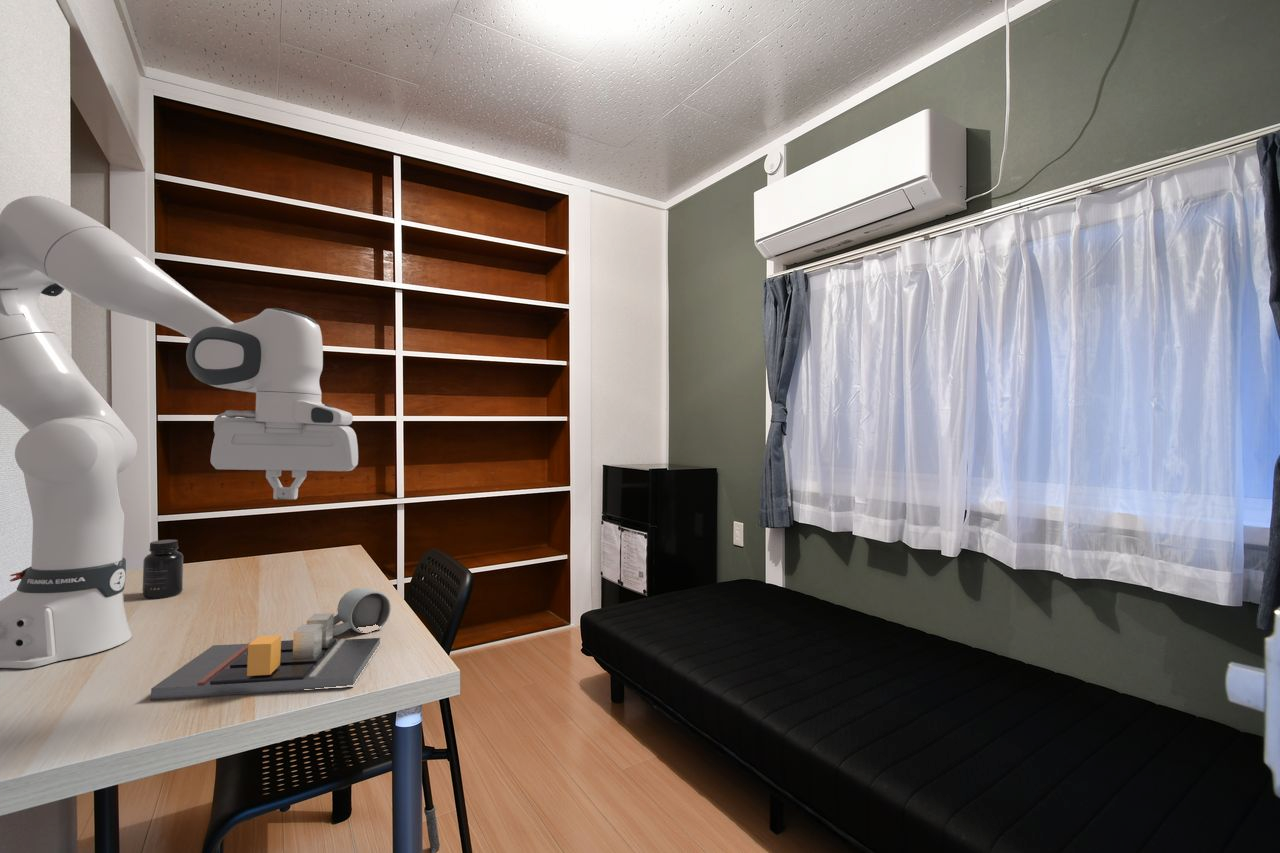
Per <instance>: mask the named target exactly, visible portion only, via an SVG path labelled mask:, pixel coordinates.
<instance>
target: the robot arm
mask: <svg viewBox="0 0 1280 853" xmlns="http://www.w3.org/2000/svg"><path fill="white" fill-rule="evenodd" d="M64 290H65V291H67V292H69V293H71V294H72V295H74V296H76V297H78V298H81V299H82V300H84V301H86V302H89V303H90V304H93V305H96V306H97V307H100V308H103V309H105V310H109V311H112V312H115V313H119V314H123V315H127V316H131V317H134V318H137V319H141V320H143V321H144V320H145V321H149V322H151V323H154V324H159V325H161V326H164V327H166V328H169V329H171V330H173V331H176V332H177V333H180V334H181V335H184V336H185V337H186V338H188V339H190V341H189V342H188V345H187V348H186V352H185V358H186V359H185V360H186V361H185V362H186V365H187V368H188V369H189V372H190V373H191V375H192V376H193V377H194V378H195V379H197V381H200V382H201V383H203V384H206V385H209V386H212V387H214V388H219V389H225V390H231V391H232V390H233V391H237V392H238V391H240V392H245V393H246V392H247V393H251V394H255V410H234V409H233V410H232V409H230V410H225V411H224V412H222V413H220V414H218V415H217V416H216V417H215V418H214V421H213V432H214V438H213V441H212V442H213V443H212V446H211V453H210V464H211V465H212V466H213V468H214V469H215V470H230V471H231V470H232V471H233V470H239V471H240V470H241V471H242V470H245V471H246V470H247V471H265V478H266V480H267V482H268V483H269V485H270V486H271V487H272V489H273V490H272V491H273V494H272V495H273V496H272V498H273V500H297V499H298V496H299V488H300V486H301V485H302V483H303V482H304V481H305V479H306V478H307V475H308V474H307V473H308V471H309V472H310V471H311V472H312V471H314V472H349V471H353V470H354V469H356V468H357V466H358V465H359V445H358V438H357V434H356V432H355V430H354V429H353V428H352V427H350V425H351V424H352V423H353V414H352V413H351V412H348V411H346V410H343V409H340V408H336V407H335V406H332V405H330V404H325V403H323V402H322V389H321V385H320V379H321V378H320V377H321V375H322V372H323V367H324V349H323V348H324V347H323V346H324V345H323V335H322V330H321V327H320V324H319V323H318V322H317V321H316V320H314V318H311V317H309V316H307V315H305V314H302V313H299V312H296V311H293V310H288V309H285V308H284V309H283V308H279V307H272V308H265V309H263V310H262V311H261V312H260V313H259V314H257V315H256V316H253V317H251V318H249V319H245V320H243V321H240V322H239V321H238V322H234V321H233V320H232V319H229V317H227V316H225V315H224V314H222V313H221V312H219V311H218V310H216V309H215V308H213V307H211V306H210V305H208V304H207V303H206V302H204V301H203V300H201V299H199V298H198V297H197V296H195V295H194V294H193V293H192V292H190V291H189V290H187V289H186V288H185V287H184V286H182V284H180V283H179V282H178V281H176V279H174V278H173V277H171V276H170V275H169V274H168V273H166V272H165V271H164V270H163V269H162V268H160V267H159V266H158V265H157V264H156V263H155V262H153V261H152V260H150V259H149V258H148V257H147V255H144V254H143V253H142V252H141V250H138V249H137V248H136V247H135V246H133V245H132V244H131V243H129V242H128V241H127V240H125V239H124V237H121V236H120V235H119V234H118V233H116V232H114V231H113V230H112V229H110V228H108V227H107V226H106V225H104V224H103V223H101V222H99V221H98V220H96V219H94V218H92V216H89V215H87V214H85V213H83V212H82V211H80V210H78V209H76V208H75V207H72V206H70V205H68V204H66V203H63V202H61V201H59V200H56V199H54V198H51V197H46V196H41V195H40V196H39V195H30V196H24V197H20V198H17V199H14V200H13V201H11V202H10V203H8V204H6V205H5V207H3V209H2V211H1V213H0V406H1V407H3V408H4V409H6V410H7V411H8V412H10V413H11V414H12V415H13V416H14V417H15V418H16V419H18V421H19V422H20V423H21V424H22V425H23V426H25V427H26V429H28V431H26V432H25V433H24V434H23V435H22V436H21V437H20V438H19V440H18V442H17V443H16V446H15V450H14V457H15V458H14V459H15V462H16V464H17V466H18V467H19V469H20V470H21V471H22V472H23V473H22V474H23V476H24V483H25V487H26V492H27V496H28V500H29V501H28V502H29V506H30V511H31V515H32V516H31V517H32V541H31V542H32V544H31V566H29V567H26V568H25V569H23V570H22V571H19V572H16V573H12V574H10V575H9V576H10V577H13V578H11V579H9V582H15V581H18V580H20V581H19V584H18V585H17V587H16V590H15V591H13V592H12V593H11V594H9V595H7V596H5V597H4V598H3V599H1V600H0V668H1V669H32V668H37V667H41V666H45V665H49V664H52V663H55V662H56V663H57V662H59V661H64V660H68V659H70V660H71V659H74V658H79V657H85V656H89V655H92V654H96V653H99V652H103V651H106V650H109V649H112V648H114V647H118V646H121V645H122V644H123V643H126V642H127V641H129V640H130V639H131V638H132V637H133V634H132V632H131V629H130V626H129V622H128V618H127V614H126V609H125V601H124V600H125V599H124V590H125V586H126V577H127V576H126V574H127V572H126V571H127V562H126V561H127V560H126V558H125V557H124V538H125V520H126V518H125V512H124V510H123V507H122V505H121V499H120V494H119V488H118V479H117V478H118V477H117V475H118V474H120V473H122V472H124V470H126V469H127V468H128V467H130V465H131V464H132V463H133V462H134V460H135V459H136V457H137V454H138V450H139V449H138V448H139V447H138V446H139V444H138V441H137V438H136V436H135V435H134V434H133V433H132V431H131V430H130V429H129V428H128V427H127V426H126V424H125V423H124V422H123V420H122V419H121V418H120V417H119V416H118V414H117V413H116V411H115V410H114V409H113V408H112V406H111V405H110V404H108V402H107V401H106V400H105V399H104V398H103V396H102V395H101V394H100V393H99V392H98V391H97V389H96V388H95V387H94V386H93V385H92V384H91V382H90V381H89V380H88V379H87V378H86V376H85V375H84V373H83V372H82V371H81V369H80V368H79V366H78V365H77V364H76V362H75V361H74V359H73V357H72V356H71V354H70V353H69V351H68V349H67V348H66V346H65V345H64V344H63V342H62V341H61V339H60V337H59V335H57V333H56V332H55V330H54V329H53V328H52V326H51V325H50V323H49V322H48V321H47V319H46V318H45V317H44V314H43V313H42V311H41V308H40V307H39V298H40V296H41V294H42V295H44V296H48V297H57V296H60V295H61V294H63V292H64ZM282 471H291V478H295V479H294V480H293V482H292V483H291V485H290V486H289V487H288V486H287V487H285V486H283V485H282V482H281V481H280V479H279V477H281V476H282ZM14 576H15V577H14Z"/></svg>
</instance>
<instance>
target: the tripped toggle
mask: <svg viewBox="0 0 1280 853" xmlns="http://www.w3.org/2000/svg"><path fill="white" fill-rule="evenodd" d="M281 641H282V635H281V634H277V635H260V636H257V637H256V638H255V639H253V640H252V641H251V642H249V643H250V644H249V645H248V661H247V676H256V675H270V674H271V673H272V672H273V671H274V670H275V669H276V668H277V667H278V666H279V665H280V655H281Z"/></svg>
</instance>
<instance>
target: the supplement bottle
mask: <svg viewBox="0 0 1280 853" xmlns="http://www.w3.org/2000/svg"><path fill="white" fill-rule="evenodd" d="M178 549H179V540H178V539H161V540H159V539H158V540H155V541H151V542H150V543H149V552H150V553H149V554H147V555H146V556H145V557H144V558H143V564H142V568H143V569H142V597H143V598H144V599H147V600H148V599H149V600H159V599H166V598H171V597H174V596H177V595H180V594H181V593H182V592H183V585H184V584H183V583H184V582H183V581H184V555H183V553H182V552H180V551H178Z"/></svg>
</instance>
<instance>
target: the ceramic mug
mask: <svg viewBox="0 0 1280 853" xmlns="http://www.w3.org/2000/svg"><path fill="white" fill-rule="evenodd" d="M336 610H337V614H336V615H334V616H333V637H335V636H338V635H342V634H343V633H345V632H347V631H348V630H353V631H354V632H356V633H359V634H361V633H360V632H363V631H360V630H359V629H357V628H358V627H366V626H373V625H375V624H376V625H378V626H379V627H380V626H382V627H383V626H385V624H386V623H387V621H388V620H389V619H390V618H389V617H390V614H391V602H390V600H389V597H388V596H387V595H386V594H385V593H383V592H380V591H377V590H373V589H370V588H365V587H357V588H352V589H350V590H349V591H347V592H346V593H344V595H342V597H341V598H340V599H339V601H338V605H337V609H336ZM341 622H342V623H341ZM339 623H340V624H339ZM337 624H339V625H337ZM336 625H337V626H336ZM334 626H335V627H334Z"/></svg>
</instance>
